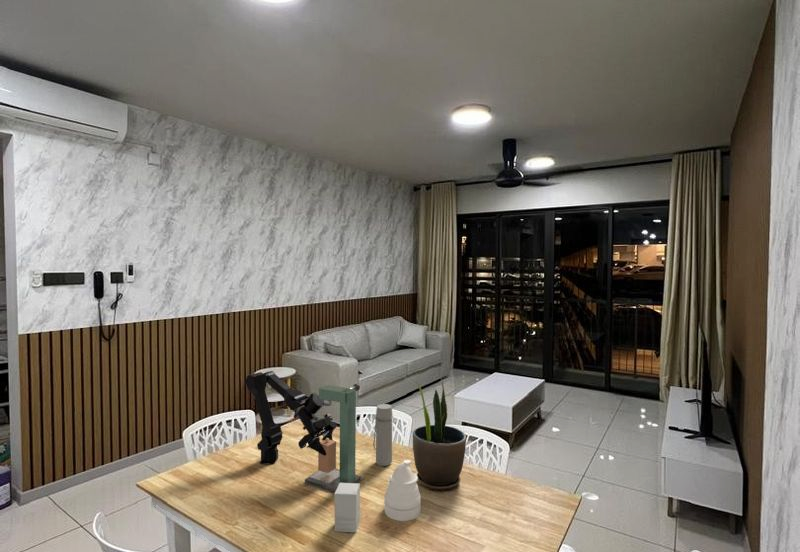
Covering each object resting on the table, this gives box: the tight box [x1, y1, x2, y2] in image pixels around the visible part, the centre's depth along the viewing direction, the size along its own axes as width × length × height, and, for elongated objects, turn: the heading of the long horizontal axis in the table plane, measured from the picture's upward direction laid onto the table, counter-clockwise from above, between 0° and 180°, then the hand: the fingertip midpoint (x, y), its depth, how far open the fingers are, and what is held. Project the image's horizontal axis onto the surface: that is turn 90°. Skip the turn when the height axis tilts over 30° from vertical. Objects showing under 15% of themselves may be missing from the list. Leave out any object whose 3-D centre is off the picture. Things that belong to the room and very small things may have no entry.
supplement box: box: [333, 483, 361, 533], centre depth 140 cm, size 7×7×13 cm
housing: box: [317, 438, 337, 473], centre depth 171 cm, size 5×5×12 cm
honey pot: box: [383, 459, 422, 522], centre depth 150 cm, size 13×13×18 cm
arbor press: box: [304, 383, 362, 493], centre depth 172 cm, size 18×20×38 cm
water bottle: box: [373, 403, 394, 467], centre depth 186 cm, size 9×8×25 cm
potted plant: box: [412, 380, 467, 493], centre depth 170 cm, size 21×22×40 cm
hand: (329, 452), depth 170 cm, fingers closed on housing, 5 cm apart
